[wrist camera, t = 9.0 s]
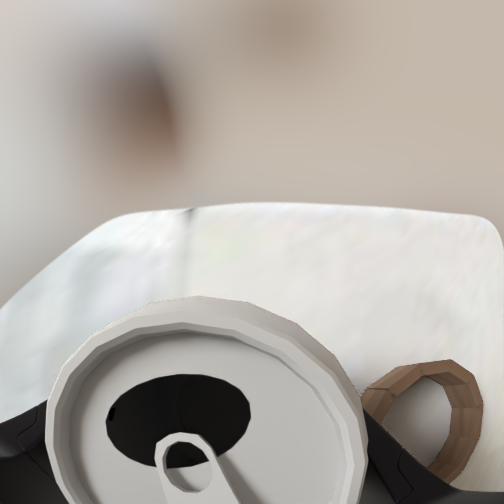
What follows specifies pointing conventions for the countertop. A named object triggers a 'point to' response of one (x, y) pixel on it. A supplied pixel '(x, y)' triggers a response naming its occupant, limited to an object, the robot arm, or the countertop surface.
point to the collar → (460, 397)
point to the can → (205, 412)
